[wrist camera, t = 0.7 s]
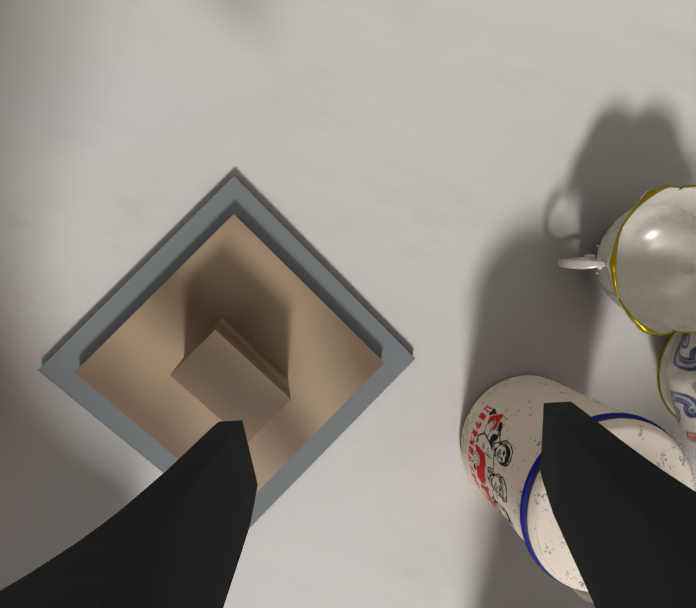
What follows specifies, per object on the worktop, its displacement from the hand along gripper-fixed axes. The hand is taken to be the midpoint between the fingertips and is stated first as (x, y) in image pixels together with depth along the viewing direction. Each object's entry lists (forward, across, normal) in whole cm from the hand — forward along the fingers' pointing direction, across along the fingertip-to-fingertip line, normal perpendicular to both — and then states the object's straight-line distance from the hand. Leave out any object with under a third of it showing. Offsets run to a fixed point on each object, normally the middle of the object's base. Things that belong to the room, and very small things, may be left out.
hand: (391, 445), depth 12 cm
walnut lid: (+15, +9, +6) cm, 18 cm away
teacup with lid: (+17, -8, +16) cm, 24 cm away
